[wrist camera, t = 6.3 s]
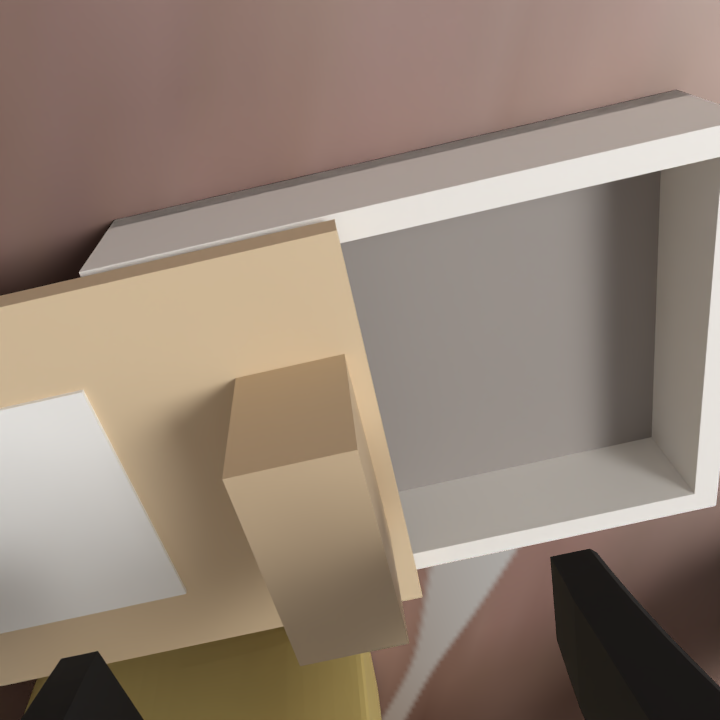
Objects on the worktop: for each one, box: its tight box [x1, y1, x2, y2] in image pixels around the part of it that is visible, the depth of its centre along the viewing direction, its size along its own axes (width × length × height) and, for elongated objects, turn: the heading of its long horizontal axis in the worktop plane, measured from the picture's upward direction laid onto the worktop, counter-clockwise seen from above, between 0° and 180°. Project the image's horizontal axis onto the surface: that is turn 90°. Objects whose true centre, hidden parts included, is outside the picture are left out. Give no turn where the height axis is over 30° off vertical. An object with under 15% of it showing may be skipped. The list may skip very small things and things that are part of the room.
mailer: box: [79, 90, 720, 569], centre depth 16 cm, size 13×10×3 cm
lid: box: [0, 219, 422, 686], centre depth 13 cm, size 13×10×4 cm
